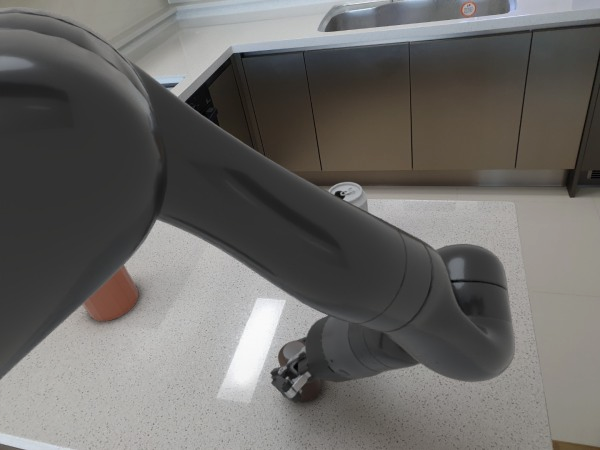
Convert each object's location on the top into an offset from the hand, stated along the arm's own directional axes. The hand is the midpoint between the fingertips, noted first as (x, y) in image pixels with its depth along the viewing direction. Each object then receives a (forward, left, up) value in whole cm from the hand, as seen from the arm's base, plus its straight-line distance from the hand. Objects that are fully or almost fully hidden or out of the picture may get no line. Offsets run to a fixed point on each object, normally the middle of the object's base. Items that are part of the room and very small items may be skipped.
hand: (288, 361), depth 64 cm
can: (+30, +9, -5) cm, 32 cm away
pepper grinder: (0, -2, -5) cm, 5 cm away
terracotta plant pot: (-4, +42, -5) cm, 43 cm away
